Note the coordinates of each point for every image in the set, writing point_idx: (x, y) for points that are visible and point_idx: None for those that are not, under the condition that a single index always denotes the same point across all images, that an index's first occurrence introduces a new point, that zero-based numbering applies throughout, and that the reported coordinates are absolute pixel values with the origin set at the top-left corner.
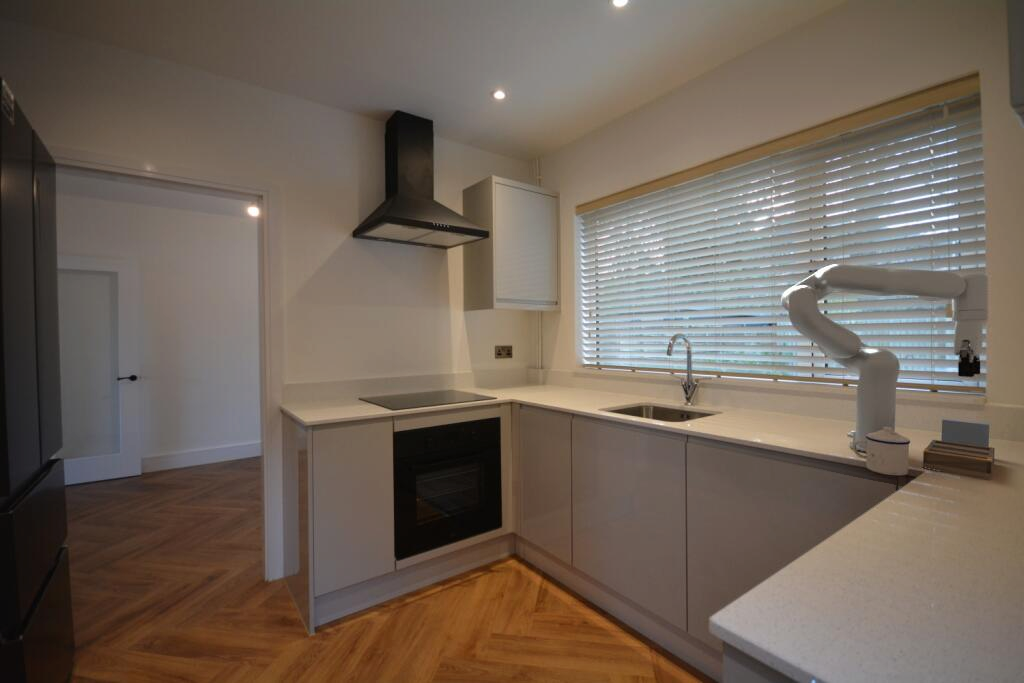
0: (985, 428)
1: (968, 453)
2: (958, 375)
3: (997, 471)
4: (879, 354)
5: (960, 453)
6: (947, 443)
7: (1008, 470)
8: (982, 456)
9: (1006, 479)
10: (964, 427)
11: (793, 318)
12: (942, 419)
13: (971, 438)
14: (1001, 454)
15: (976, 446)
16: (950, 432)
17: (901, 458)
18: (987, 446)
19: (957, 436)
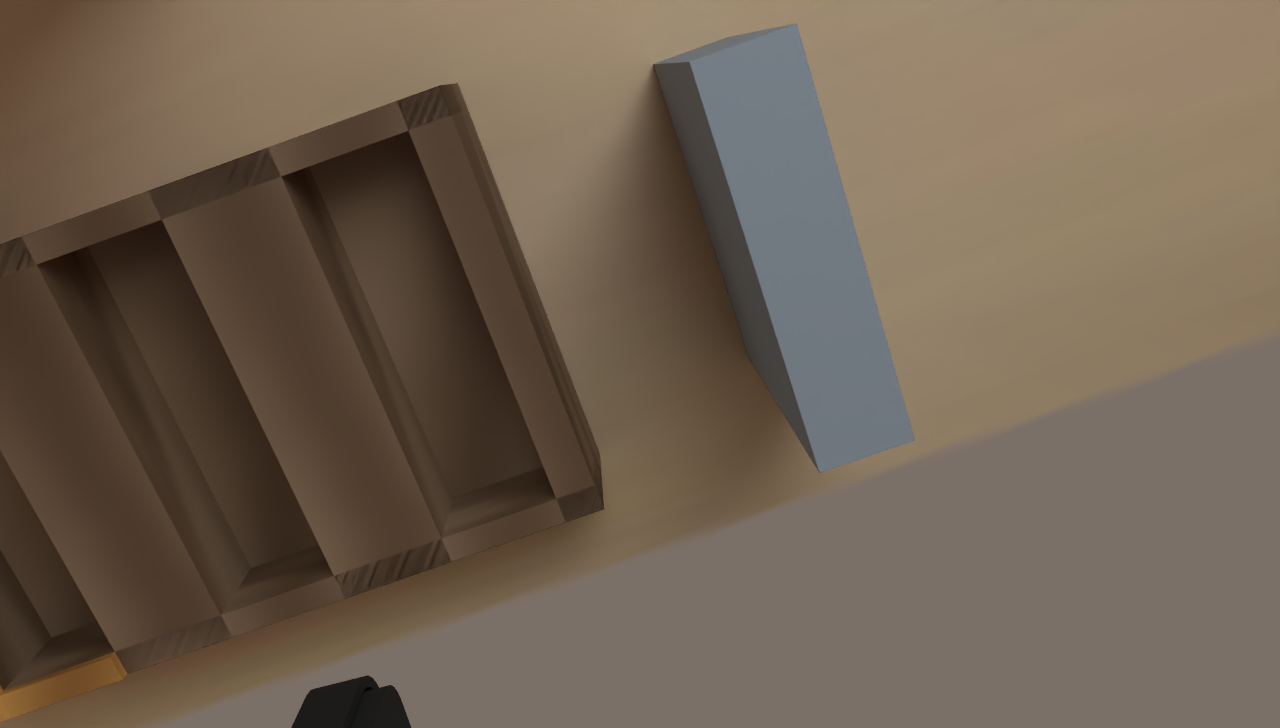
0: (800, 430)
1: (114, 525)
2: (312, 691)
3: None
4: None
5: (39, 500)
6: (445, 217)
7: (479, 576)
8: (118, 616)
9: (182, 673)
10: (744, 264)
11: None
12: (705, 59)
13: (745, 296)
14: (1048, 331)
15: (524, 415)
16: (697, 139)
17: None
18: (769, 387)
19: (712, 193)
